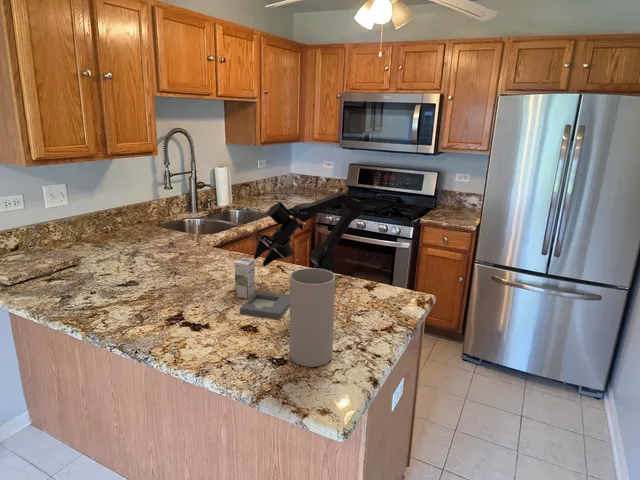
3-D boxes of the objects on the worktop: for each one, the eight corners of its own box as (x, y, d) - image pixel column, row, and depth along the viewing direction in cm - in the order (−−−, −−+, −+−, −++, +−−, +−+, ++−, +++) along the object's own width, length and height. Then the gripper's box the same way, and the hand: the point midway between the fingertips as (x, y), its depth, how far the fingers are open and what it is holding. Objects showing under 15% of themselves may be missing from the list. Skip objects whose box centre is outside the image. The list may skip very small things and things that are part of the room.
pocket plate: (294, 300, 161) (294, 295, 161) (280, 319, 146) (280, 313, 146) (257, 295, 165) (257, 290, 164) (240, 313, 150) (239, 308, 149)
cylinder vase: (282, 362, 121) (282, 280, 114) (299, 341, 132) (300, 265, 125) (323, 372, 117) (326, 287, 110) (338, 350, 128) (341, 271, 121)
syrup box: (255, 294, 166) (254, 258, 162) (248, 300, 161) (247, 263, 157) (242, 291, 168) (241, 257, 164) (235, 297, 163) (233, 261, 159)
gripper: (309, 250, 162) (282, 281, 160) (288, 238, 178) (263, 266, 176) (290, 232, 156) (262, 264, 154) (270, 221, 172) (245, 250, 170)
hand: (258, 262), depth 164 cm, fingers open, 9 cm apart
